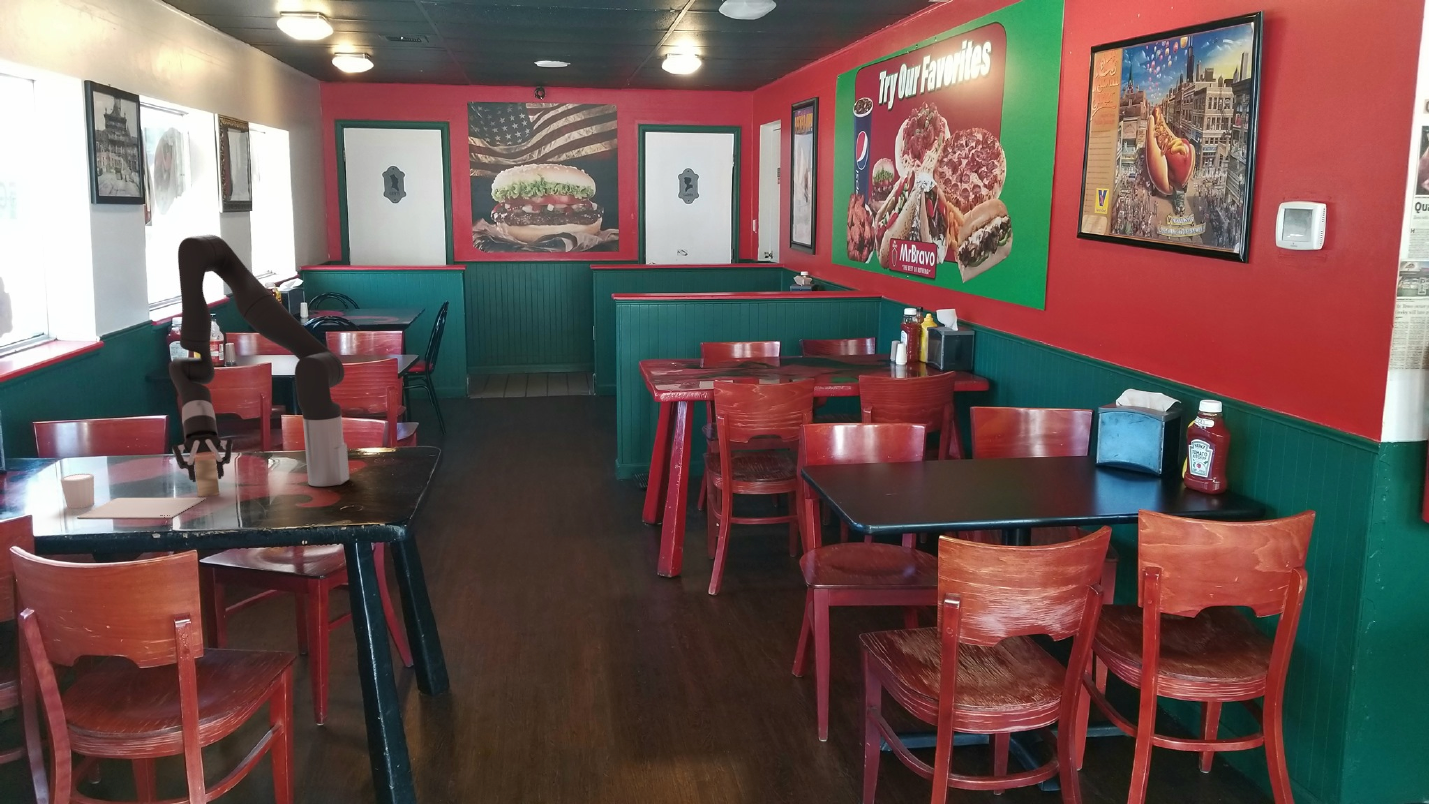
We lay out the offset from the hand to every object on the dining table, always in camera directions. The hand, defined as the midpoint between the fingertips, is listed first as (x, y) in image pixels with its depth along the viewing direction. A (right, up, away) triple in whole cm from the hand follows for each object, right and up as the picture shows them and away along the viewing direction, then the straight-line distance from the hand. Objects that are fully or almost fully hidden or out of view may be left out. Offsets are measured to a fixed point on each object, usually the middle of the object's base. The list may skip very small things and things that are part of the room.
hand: (207, 478), depth 261 cm
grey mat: (-10, -6, -10) cm, 16 cm away
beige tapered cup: (-27, -6, -7) cm, 29 cm away
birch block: (-1, -4, +2) cm, 5 cm away
